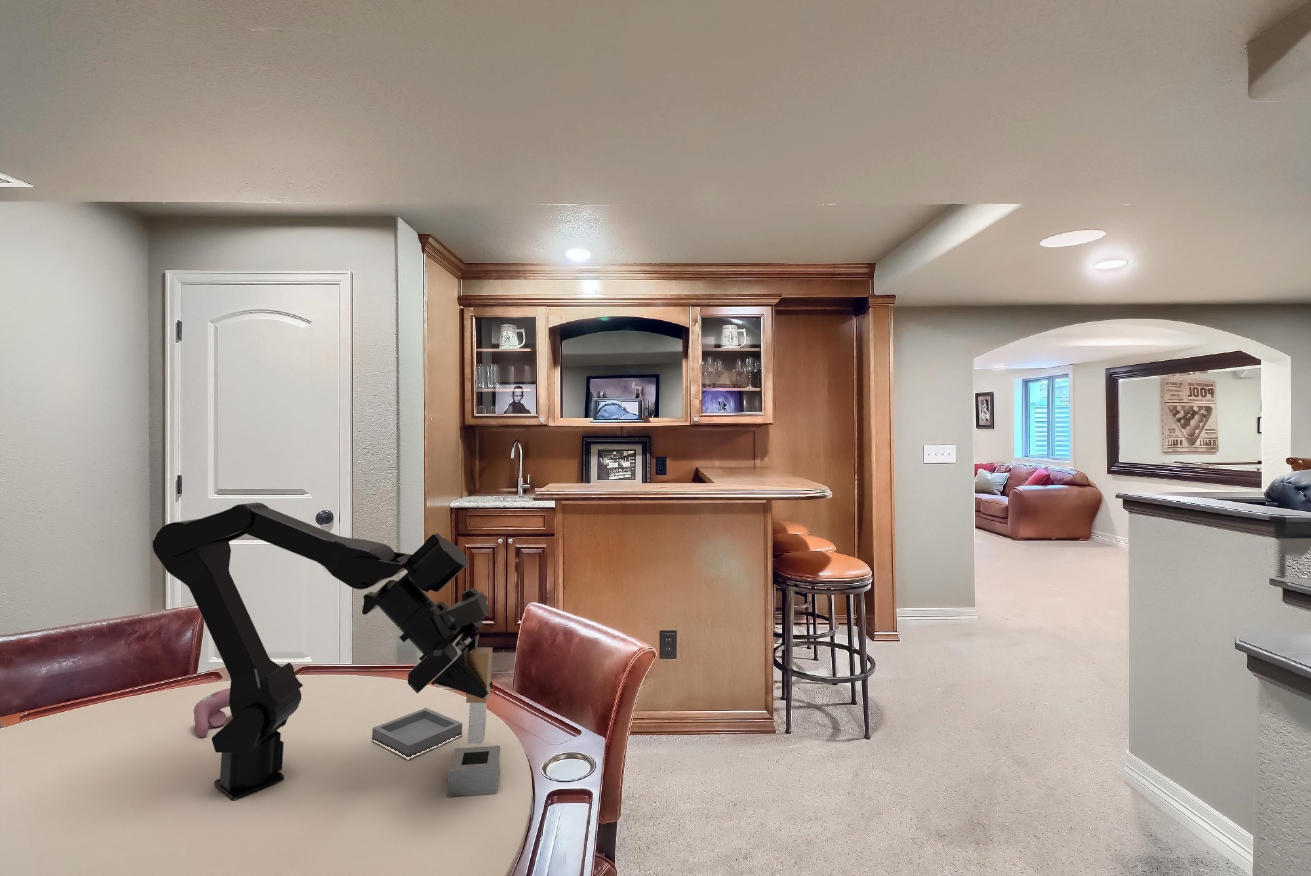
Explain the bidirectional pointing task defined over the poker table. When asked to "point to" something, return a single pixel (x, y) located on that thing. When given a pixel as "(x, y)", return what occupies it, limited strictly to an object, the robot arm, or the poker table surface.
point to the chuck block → (474, 771)
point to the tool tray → (417, 732)
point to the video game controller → (211, 711)
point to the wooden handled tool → (477, 711)
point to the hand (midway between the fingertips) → (488, 691)
